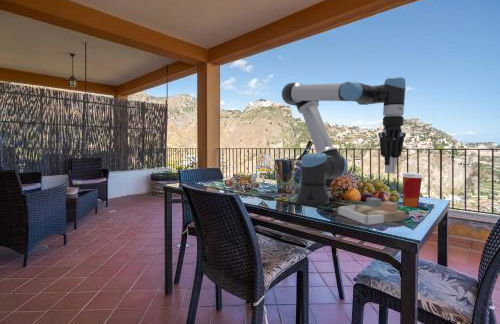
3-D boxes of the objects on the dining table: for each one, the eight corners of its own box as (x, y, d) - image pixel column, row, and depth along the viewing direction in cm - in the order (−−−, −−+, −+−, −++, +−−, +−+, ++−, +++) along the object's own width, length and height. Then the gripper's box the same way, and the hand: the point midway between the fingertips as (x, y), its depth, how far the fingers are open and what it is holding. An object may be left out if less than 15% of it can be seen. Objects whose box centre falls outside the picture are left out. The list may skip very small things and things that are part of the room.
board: (353, 212, 112) (354, 205, 112) (374, 210, 116) (374, 203, 116) (383, 222, 98) (383, 214, 98) (405, 219, 102) (405, 212, 102)
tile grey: (366, 205, 112) (366, 198, 112) (373, 204, 113) (373, 197, 113) (373, 207, 108) (374, 200, 108) (381, 206, 110) (381, 199, 109)
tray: (338, 213, 109) (338, 206, 109) (353, 212, 112) (354, 205, 112) (366, 225, 95) (366, 216, 95) (383, 222, 98) (383, 214, 98)
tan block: (380, 209, 105) (381, 202, 105) (388, 208, 106) (388, 201, 106) (389, 212, 101) (389, 204, 101) (397, 211, 103) (397, 203, 102)
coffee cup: (407, 202, 131) (409, 172, 129) (424, 206, 123) (426, 174, 122) (396, 204, 127) (398, 173, 125) (413, 208, 119) (415, 175, 118)
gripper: (387, 114, 105) (384, 174, 107) (414, 116, 110) (410, 173, 112) (372, 116, 112) (369, 172, 114) (398, 117, 117) (394, 171, 119)
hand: (390, 172), depth 113 cm, fingers closed
